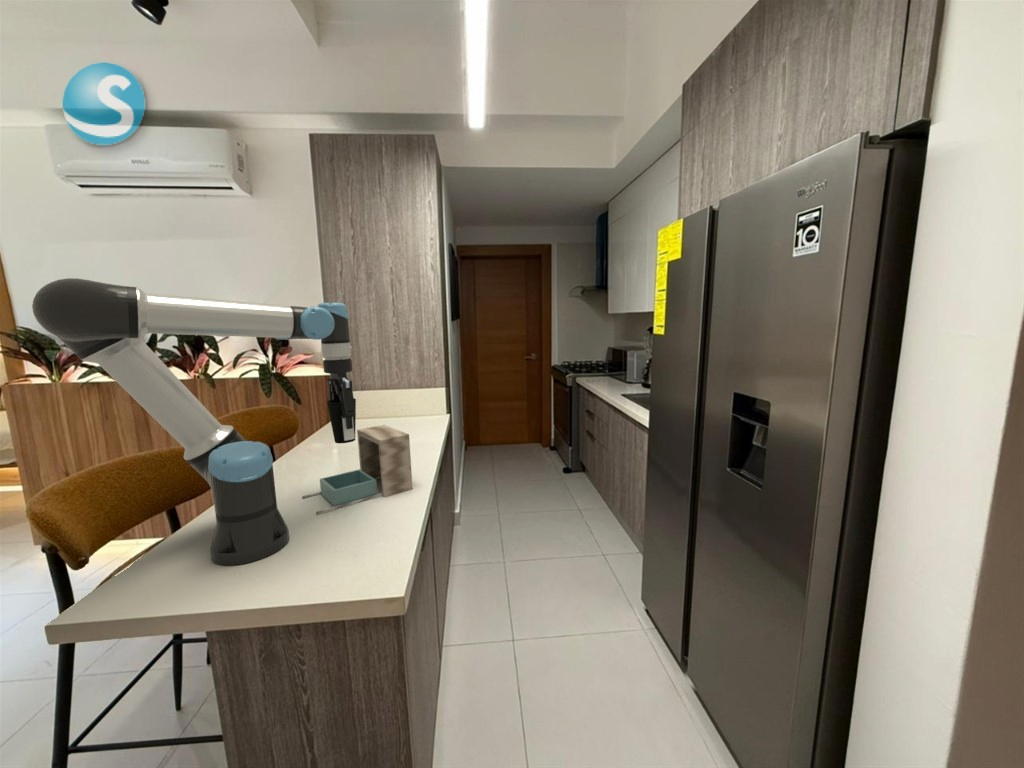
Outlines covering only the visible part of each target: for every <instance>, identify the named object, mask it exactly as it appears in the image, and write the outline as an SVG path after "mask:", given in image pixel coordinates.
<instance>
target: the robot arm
mask: <svg viewBox="0 0 1024 768" xmlns="http://www.w3.org/2000/svg"><path fill="white" fill-rule="evenodd" d="M31 308H32V312H33V316H34V317H35V319H36V322H38V324H39V325H40V326H41V327H42V329H44V331H47V332H48V333H49V334H51V335H52V336H55V337H57V338H58V339H59V340H60V341H61V342H62V343H63V344H64V345H65V346H66V347H67V348H68V349H69V350H70V351H71V352H73V354H75V356H76V357H78V358H79V359H80V360H81V361H82V362H88V363H95V364H98V365H99V366H100V367H101V368H102V369H103V370H104V371H105V372H106V373H107V374H108V375H109V376H110V377H111V378H112V379H113V380H114V381H115V382H116V383H117V384H118V385H119V386H120V387H121V388H122V389H123V390H124V391H125V392H126V393H128V395H129V396H131V398H133V399H134V400H135V401H136V402H137V403H138V405H140V407H142V408H143V410H145V411H146V412H147V413H148V414H149V416H151V417H152V418H153V419H154V420H155V422H157V423H158V424H159V425H160V426H161V427H162V428H163V429H164V430H165V431H166V432H167V433H168V434H169V435H171V437H172V438H173V439H175V441H176V442H177V443H178V444H180V446H181V447H183V448H184V452H183V459H184V460H185V461H186V462H187V463H188V464H189V465H190V466H191V467H192V468H193V469H194V470H195V471H196V472H197V473H198V474H199V475H200V476H201V477H202V478H203V479H204V480H205V481H206V482H207V483H208V485H209V487H210V488H211V491H212V497H213V504H214V512H215V519H216V522H215V523H216V524H215V528H214V531H213V535H212V538H211V542H210V543H211V544H210V549H209V552H210V558H211V561H212V562H213V563H215V564H217V565H221V566H235V565H236V566H237V565H243V564H248V563H252V562H255V561H259V560H261V559H263V558H267V557H269V556H271V555H273V554H275V553H276V552H278V551H280V550H281V549H282V548H284V547H285V546H286V545H287V544H288V542H289V541H290V533H289V531H290V530H289V528H288V525H287V523H286V521H285V520H284V518H283V516H282V515H281V513H280V510H279V508H278V502H277V491H276V483H275V475H274V474H275V473H274V466H273V463H274V458H273V455H272V452H271V448H270V447H269V446H268V444H267V443H263V442H261V441H252V440H246V439H245V438H244V437H243V436H242V435H241V434H240V433H239V431H237V430H236V429H235V428H234V426H233V425H229V424H227V425H226V424H221V423H220V422H219V421H218V420H217V418H215V416H213V414H212V413H211V412H210V411H209V410H208V409H207V408H206V407H205V406H204V405H203V403H202V402H201V401H200V400H199V399H198V398H197V397H196V396H195V395H194V394H193V393H192V392H191V390H189V389H188V387H187V386H186V385H185V384H184V383H183V382H182V381H181V380H180V379H179V378H178V377H177V376H176V375H175V374H174V372H172V371H171V369H170V368H169V367H168V366H167V365H166V364H165V362H164V361H162V359H160V357H159V356H157V355H156V353H155V352H154V351H153V350H152V349H151V348H150V346H148V344H146V343H145V341H144V336H145V335H147V334H156V335H157V334H159V335H163V334H164V335H183V336H184V335H186V336H187V335H189V336H192V335H193V336H213V337H214V336H216V337H220V336H221V337H243V338H244V337H248V338H250V337H252V338H274V339H275V340H278V341H279V340H281V341H282V340H286V341H289V340H314V341H315V340H318V341H319V340H320V344H321V345H320V346H321V357H322V358H323V360H322V365H323V366H322V367H323V372H324V373H325V374H330V377H327V385H328V401H329V400H333V401H334V402H341V408H342V412H343V416H341V418H342V422H343V433H344V440H345V441H347V440H352V439H355V440H356V435H355V436H354V424H353V416H354V415H356V416H357V412H355V405H354V391H353V380H351V379H349V378H348V375H347V373H351V372H352V371H353V361H352V359H351V358H350V357H351V356H352V351H351V350H352V349H353V346H352V345H351V340H350V339H351V338H350V326H349V324H350V323H349V315H348V309H347V305H346V304H344V303H343V302H321V303H318V304H317V306H310V307H307V306H295V305H286V304H285V305H284V304H282V305H281V304H273V303H262V302H251V301H249V302H248V301H238V300H237V301H236V300H227V299H226V300H225V299H217V298H215V299H214V298H202V297H192V296H181V295H180V296H179V295H167V294H156V293H148V292H144V290H142V289H141V288H140V287H137V286H127V285H120V284H118V285H117V284H112V283H105V282H104V283H103V282H100V281H94V280H89V279H85V278H84V279H83V278H71V277H70V278H67V277H66V278H62V279H57V280H54V281H51V282H49V283H46V284H45V285H44V286H42V287H41V288H40V289H39V290H38V291H37V292H36V294H35V296H34V297H33V300H32V307H31ZM349 411H350V412H349Z"/></svg>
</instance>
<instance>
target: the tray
mask: <svg viewBox="0 0 1024 768" xmlns="http://www.w3.org/2000/svg"><path fill="white" fill-rule="evenodd" d="M319 485H320V492H321V494H320V495H321V496H323V497H324V498H325V499H326V500H327V501H328V502H329V503H330V504H331V505H332V507H335V506H339V505H342V504H346V503H349V502H352V501H356V500H359V499H363V498H366V497H370V496H373V495H377V494H378V487H377V479H374V478H373V477H371V476H369V475H368V474H366V473H365V472H363V471H362V470H360V468H358V469H355V470H352V471H351V470H350V471H347V472H343V473H338V474H335V475H330V476H326V477H322V478H319Z"/></svg>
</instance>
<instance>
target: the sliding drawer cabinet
mask: <svg viewBox="0 0 1024 768" xmlns="http://www.w3.org/2000/svg"><path fill="white" fill-rule="evenodd" d="M356 432H357V433H356V434H357V435H356V436H357V444H358V445H357V446H358V457H359V458H358V459H359V469H360V470H362V471H363V472H365V473H366V474H368V475H369V476H371V477H373V478H374V479H376V480H380V481H381V491H382V492H380V493H377V495H373V496H370V497H366V498H363V499H359V500H356V501H352V502H349V503H346V504H342V505H339V506H335V507H334V506H332V507H329V508H324V509H321V510H318V511H316V513H315V514H316V515H321V514H325V513H328V512H333V511H334V510H335V511H336V510H338V509H341V508H345V507H348V506H349V507H350V506H352V505H355V504H359V503H362V502H367V501H369V500H371V499H373V500H374V499H376V498H379V497H383V498H386V497H391V496H394V495H396V494H400V493H404V492H407V491H410V490H413V488H414V487H413V475H412V461H411V460H412V458H411V443H410V442H411V441H410V434H408V433H406V432H404V431H401V430H398V429H397V428H394V427H391V426H388V425H386V424H381V425H376V426H371V427H365V428H359V429H356ZM320 495H322V494H321V491H318V492H313V493H309V494H306V495H302V496H301V498H302V499H308V498H311V497H315V496H320Z"/></svg>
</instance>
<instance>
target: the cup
mask: <svg viewBox="0 0 1024 768" xmlns="http://www.w3.org/2000/svg"><path fill="white" fill-rule="evenodd" d="M353 398H354V397H353ZM356 402H357V399H356V398H354V405H355V412H356V410H357V409H356V406H357V403H356ZM326 403H327V410H328V414H329V419H330V425H331V429H332V435H333V439H334V443H336V444H348V443H352V442H355V441H356V438H355V439H352V440H347V441H345V440H344V433H343V422H342V418H341V416H343V412H342V408H341V402H334V401H333V400H329V399H328V400H327V401H326ZM349 412H350V411H349ZM356 413H357V412H356ZM356 417H357V414H356V415H354V416H353V424H354V436H355V437H356V424H357V423H356V419H357V418H356Z"/></svg>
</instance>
